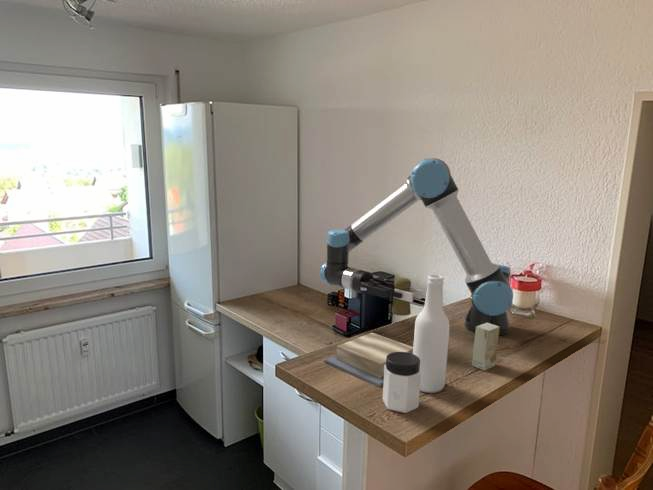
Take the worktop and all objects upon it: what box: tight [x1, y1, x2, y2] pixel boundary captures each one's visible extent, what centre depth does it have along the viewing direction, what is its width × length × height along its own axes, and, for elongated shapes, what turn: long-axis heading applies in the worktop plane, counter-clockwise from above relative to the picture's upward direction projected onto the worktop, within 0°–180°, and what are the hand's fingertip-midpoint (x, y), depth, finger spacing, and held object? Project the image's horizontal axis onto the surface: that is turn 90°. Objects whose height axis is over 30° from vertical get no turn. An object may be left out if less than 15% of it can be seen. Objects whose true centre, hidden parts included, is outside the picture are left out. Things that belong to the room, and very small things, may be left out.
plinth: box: [323, 332, 413, 387], centre depth 144 cm, size 22×20×5 cm
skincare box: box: [471, 323, 500, 371], centre depth 143 cm, size 6×4×12 cm
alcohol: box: [412, 274, 451, 394], centre depth 128 cm, size 9×9×30 cm
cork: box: [391, 277, 412, 317], centre depth 154 cm, size 6×6×11 cm
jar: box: [382, 352, 421, 414], centre depth 120 cm, size 9×8×12 cm
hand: (416, 296), depth 151 cm, fingers closed on cork, 4 cm apart
